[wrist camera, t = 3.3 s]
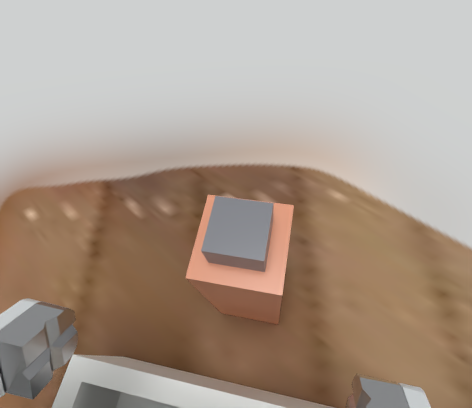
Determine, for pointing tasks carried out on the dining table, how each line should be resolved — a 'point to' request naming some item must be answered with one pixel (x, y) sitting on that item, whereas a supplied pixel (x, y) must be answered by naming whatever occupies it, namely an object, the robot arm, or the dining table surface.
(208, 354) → the dining table surface
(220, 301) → the connector
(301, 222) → the dining table surface
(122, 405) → the walled box
